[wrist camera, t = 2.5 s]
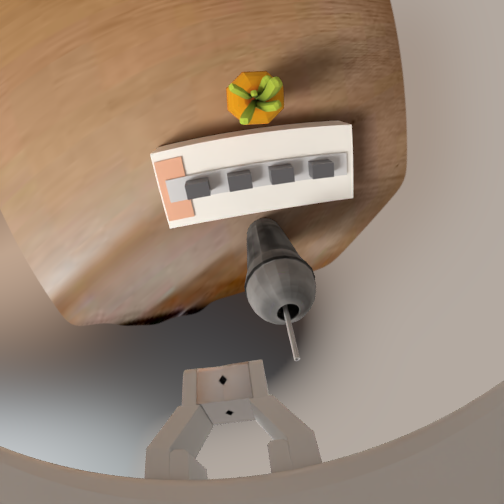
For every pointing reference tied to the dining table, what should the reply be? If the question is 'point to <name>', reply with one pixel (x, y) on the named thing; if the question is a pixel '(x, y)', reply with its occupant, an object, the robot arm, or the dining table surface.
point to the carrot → (255, 97)
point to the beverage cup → (277, 277)
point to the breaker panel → (254, 171)
